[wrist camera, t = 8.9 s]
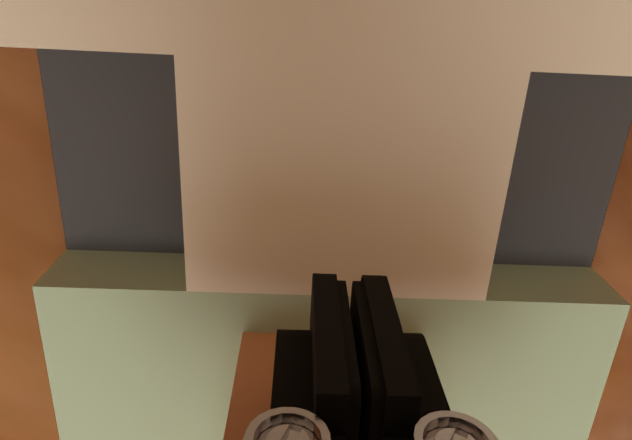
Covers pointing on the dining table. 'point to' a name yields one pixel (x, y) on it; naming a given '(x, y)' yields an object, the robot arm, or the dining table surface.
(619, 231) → the dining table surface
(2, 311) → the dining table surface
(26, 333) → the dining table surface
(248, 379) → the block
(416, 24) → the deck
